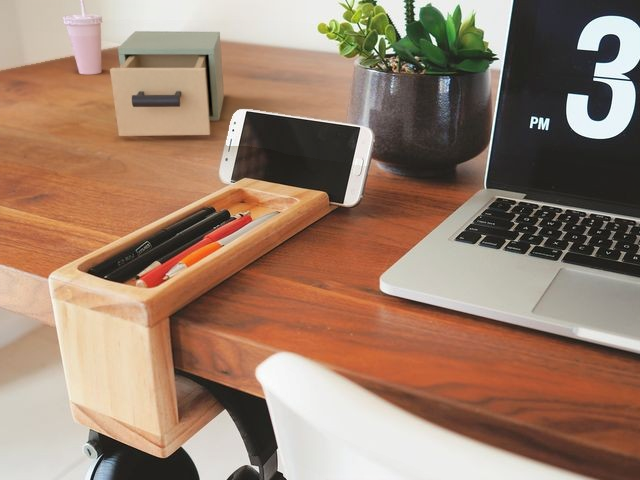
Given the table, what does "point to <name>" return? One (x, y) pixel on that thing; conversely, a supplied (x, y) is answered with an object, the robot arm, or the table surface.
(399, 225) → the table surface
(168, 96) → the drawer
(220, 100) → the cabinet
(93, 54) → the smoothie
